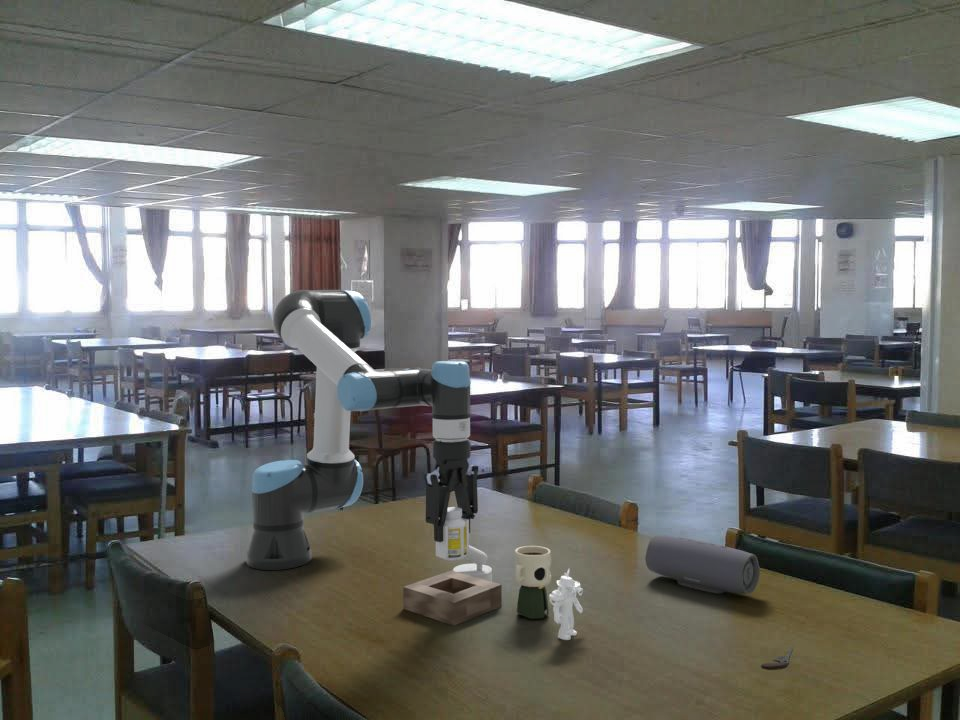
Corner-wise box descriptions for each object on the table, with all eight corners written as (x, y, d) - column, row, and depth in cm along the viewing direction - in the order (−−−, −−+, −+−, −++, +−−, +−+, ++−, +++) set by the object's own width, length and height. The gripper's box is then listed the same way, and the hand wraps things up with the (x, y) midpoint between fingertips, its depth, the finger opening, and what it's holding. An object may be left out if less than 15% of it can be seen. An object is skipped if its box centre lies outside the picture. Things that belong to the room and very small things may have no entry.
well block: (403, 608, 174) (403, 586, 174) (451, 591, 184) (451, 570, 184) (454, 625, 165) (454, 602, 164) (501, 606, 175) (501, 584, 175)
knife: (784, 673, 143) (784, 669, 143) (760, 669, 145) (759, 665, 145) (796, 646, 156) (796, 642, 156) (773, 642, 158) (773, 639, 158)
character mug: (531, 628, 163) (531, 560, 162) (501, 619, 168) (501, 553, 167) (563, 611, 172) (563, 547, 171) (533, 604, 176) (533, 541, 175)
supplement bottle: (453, 551, 178) (453, 504, 177) (471, 557, 174) (471, 509, 173) (433, 557, 174) (433, 509, 173) (452, 563, 170) (451, 513, 169)
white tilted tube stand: (451, 531, 196) (495, 534, 194) (451, 573, 197) (495, 575, 195) (442, 542, 188) (487, 544, 186) (442, 585, 188) (487, 588, 186)
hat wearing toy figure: (570, 625, 164) (570, 563, 164) (588, 630, 162) (588, 567, 161) (544, 640, 157) (544, 575, 156) (562, 645, 155) (562, 580, 154)
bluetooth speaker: (760, 594, 182) (761, 547, 181) (740, 605, 175) (741, 557, 175) (666, 571, 197) (666, 528, 197) (643, 581, 191) (644, 536, 190)
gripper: (432, 446, 163) (433, 567, 164) (495, 435, 177) (496, 547, 178) (404, 442, 168) (406, 560, 169) (468, 431, 182) (469, 540, 183)
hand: (452, 553), depth 174 cm, fingers closed on supplement bottle, 5 cm apart
